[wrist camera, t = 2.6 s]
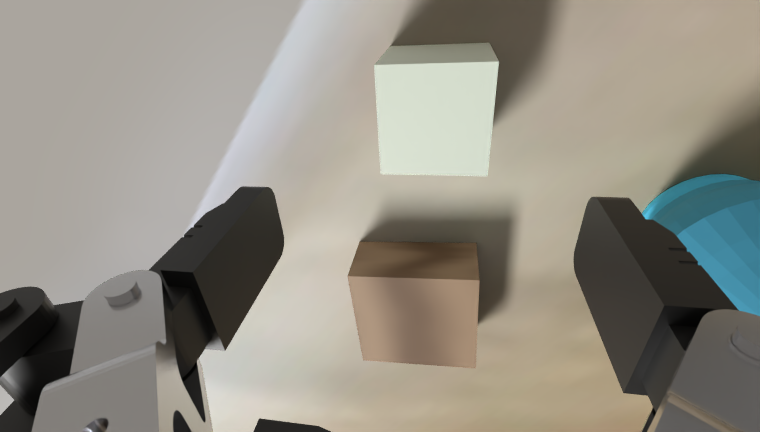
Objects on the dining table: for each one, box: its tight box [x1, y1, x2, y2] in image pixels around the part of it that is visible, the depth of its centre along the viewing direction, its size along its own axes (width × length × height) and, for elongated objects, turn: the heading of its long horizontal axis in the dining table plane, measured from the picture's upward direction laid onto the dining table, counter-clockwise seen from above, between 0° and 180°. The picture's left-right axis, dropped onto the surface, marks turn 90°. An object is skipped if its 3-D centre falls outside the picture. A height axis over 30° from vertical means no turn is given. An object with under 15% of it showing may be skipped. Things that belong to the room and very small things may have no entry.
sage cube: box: [374, 43, 499, 176], centre depth 19 cm, size 5×5×5 cm
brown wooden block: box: [348, 242, 480, 368], centre depth 27 cm, size 8×8×4 cm
